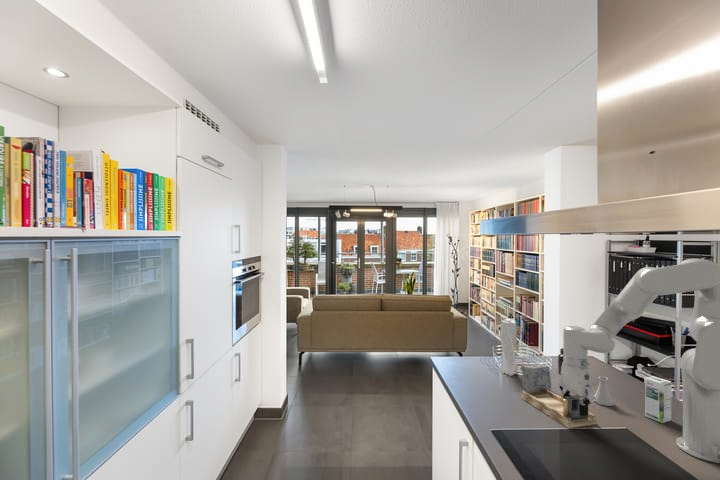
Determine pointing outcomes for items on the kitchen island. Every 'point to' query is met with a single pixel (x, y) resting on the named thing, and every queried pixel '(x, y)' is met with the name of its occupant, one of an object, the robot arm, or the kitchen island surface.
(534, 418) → the kitchen island surface
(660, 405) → the syrup box
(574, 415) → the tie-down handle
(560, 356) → the supplement bottle
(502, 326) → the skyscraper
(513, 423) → the kitchen island surface
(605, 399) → the flask
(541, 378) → the grey stone block
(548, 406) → the wooden tray
